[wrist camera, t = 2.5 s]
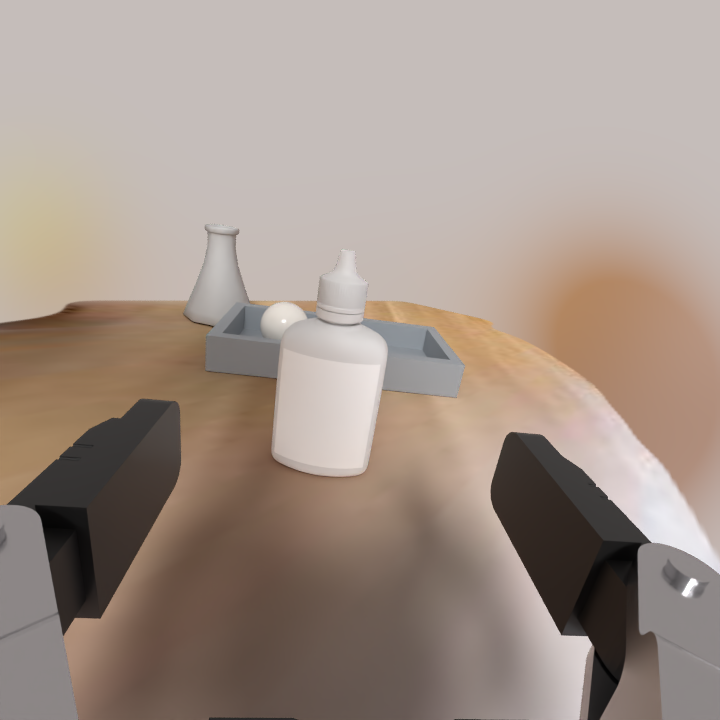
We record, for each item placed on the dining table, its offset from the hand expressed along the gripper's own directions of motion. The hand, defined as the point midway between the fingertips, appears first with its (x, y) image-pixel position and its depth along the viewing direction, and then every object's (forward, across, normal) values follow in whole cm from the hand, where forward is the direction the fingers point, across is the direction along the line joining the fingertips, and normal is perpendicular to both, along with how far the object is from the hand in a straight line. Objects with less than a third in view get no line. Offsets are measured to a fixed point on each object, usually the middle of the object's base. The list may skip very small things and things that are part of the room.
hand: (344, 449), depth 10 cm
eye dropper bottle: (+12, 0, +8) cm, 14 cm away
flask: (+37, +12, +8) cm, 39 cm away
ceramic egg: (+28, +4, +8) cm, 29 cm away
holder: (+28, -1, +8) cm, 29 cm away
